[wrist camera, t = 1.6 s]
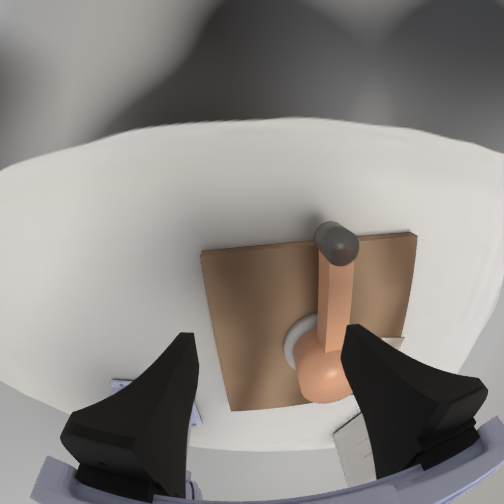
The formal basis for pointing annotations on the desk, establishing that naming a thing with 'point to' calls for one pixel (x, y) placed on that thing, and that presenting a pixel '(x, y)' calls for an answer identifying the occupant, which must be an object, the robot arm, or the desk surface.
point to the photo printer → (355, 452)
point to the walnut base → (295, 309)
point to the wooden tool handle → (328, 318)
